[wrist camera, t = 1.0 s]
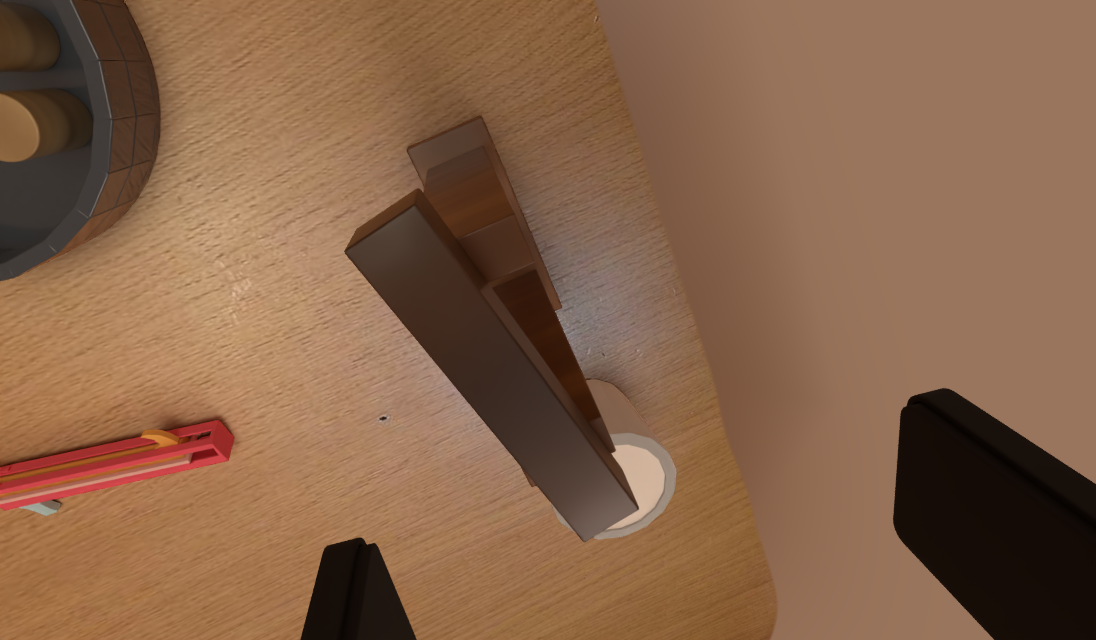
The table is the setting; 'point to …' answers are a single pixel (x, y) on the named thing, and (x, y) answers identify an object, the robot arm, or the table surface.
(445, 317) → the dark brown bar
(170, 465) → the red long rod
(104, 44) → the bowl
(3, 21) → the cork
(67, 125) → the cork
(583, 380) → the rest
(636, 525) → the beige cylinder
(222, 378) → the table surface
